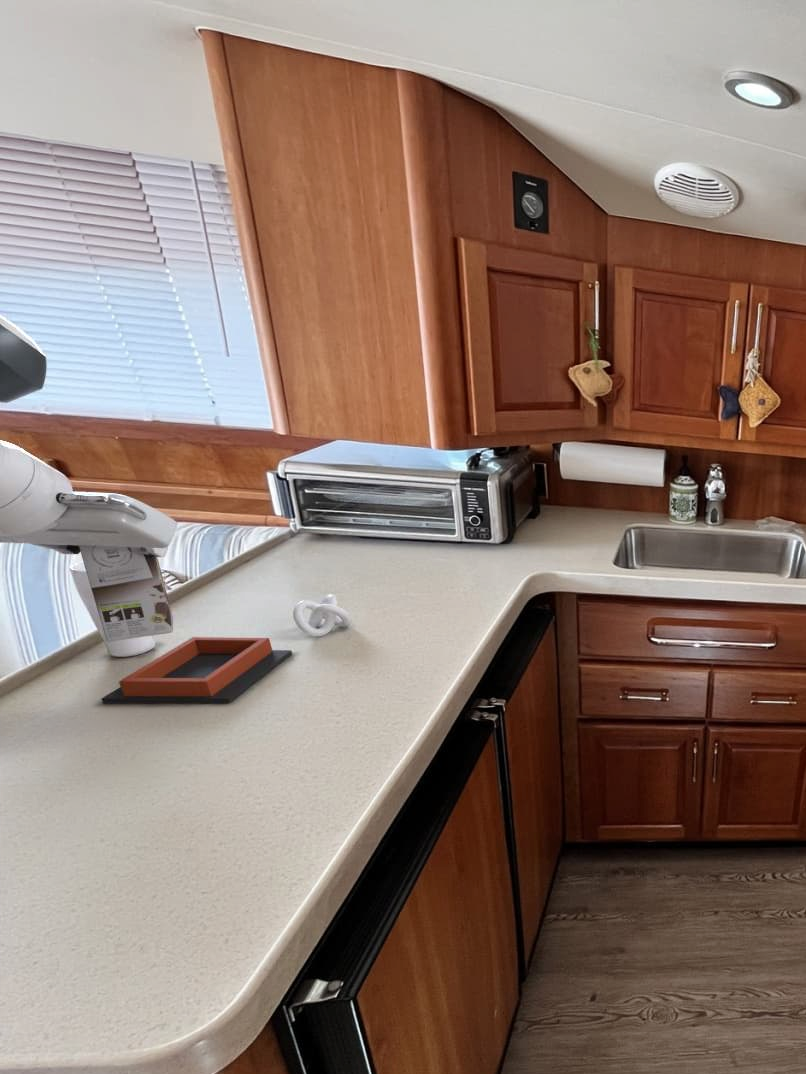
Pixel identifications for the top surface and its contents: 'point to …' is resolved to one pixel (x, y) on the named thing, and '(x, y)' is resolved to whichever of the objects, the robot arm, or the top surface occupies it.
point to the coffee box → (127, 592)
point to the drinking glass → (114, 647)
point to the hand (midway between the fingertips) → (117, 550)
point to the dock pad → (201, 672)
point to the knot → (321, 616)
